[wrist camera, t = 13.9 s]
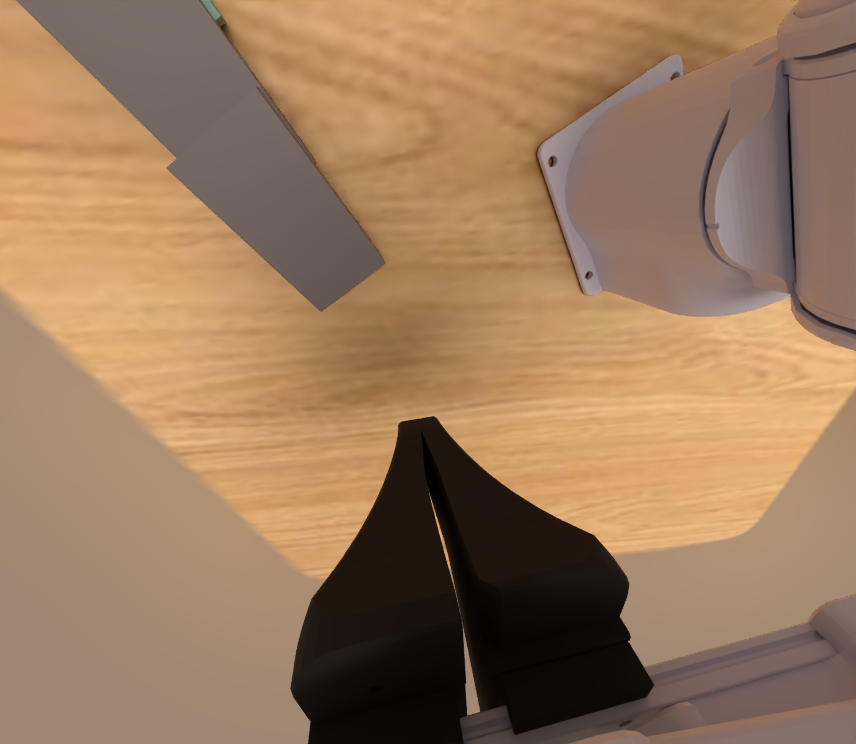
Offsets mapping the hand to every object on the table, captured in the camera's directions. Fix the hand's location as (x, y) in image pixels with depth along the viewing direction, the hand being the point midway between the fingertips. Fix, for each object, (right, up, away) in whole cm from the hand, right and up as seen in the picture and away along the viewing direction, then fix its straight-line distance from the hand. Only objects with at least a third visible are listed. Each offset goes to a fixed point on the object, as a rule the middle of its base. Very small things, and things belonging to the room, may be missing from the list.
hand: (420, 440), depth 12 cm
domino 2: (-4, +8, +6) cm, 10 cm away
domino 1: (-7, +11, +3) cm, 14 cm away
